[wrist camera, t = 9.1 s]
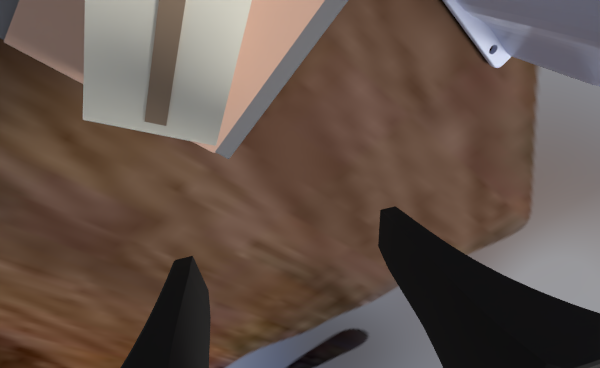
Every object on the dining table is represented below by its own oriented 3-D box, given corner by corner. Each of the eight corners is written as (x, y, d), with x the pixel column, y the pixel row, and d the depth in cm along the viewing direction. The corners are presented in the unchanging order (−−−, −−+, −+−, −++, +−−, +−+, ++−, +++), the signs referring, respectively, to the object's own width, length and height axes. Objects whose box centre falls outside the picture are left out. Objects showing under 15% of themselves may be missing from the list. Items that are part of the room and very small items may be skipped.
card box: (214, 110, 17) (216, 146, 14) (107, 84, 16) (81, 120, 12) (254, -67, 14) (269, -72, 10) (119, -129, 12) (86, -159, 8)
